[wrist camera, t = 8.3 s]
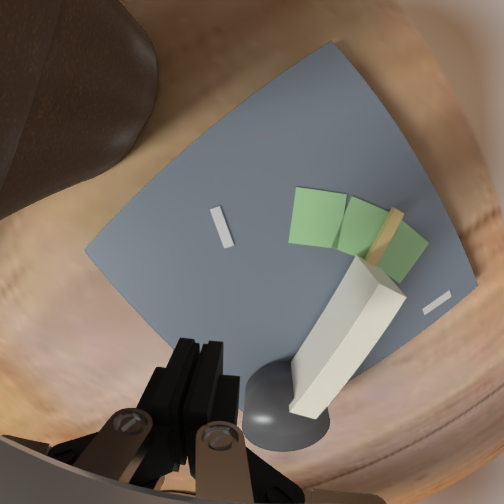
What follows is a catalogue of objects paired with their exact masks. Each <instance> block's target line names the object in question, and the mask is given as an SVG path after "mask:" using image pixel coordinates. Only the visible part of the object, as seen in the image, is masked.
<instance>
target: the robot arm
mask: <svg viewBox="0 0 504 504" xmlns="http://www.w3.org/2000/svg"><path fill="white" fill-rule="evenodd" d="M223 350H224V343H223V342H222V341H210V340H209V342H208V344H203V346H202V349H201V352H200V344H199V343H195V339H190V338H179V340H178V343H177V345H176V347H175V349H174V351H173V354H172V356H171V358H170V360H169V362H168V365H167V367H166V368H163V367H156V369H155V370H154V372H153V374H152V376H151V379H150V381H149V383H148V385H147V387H146V389H145V391H144V393H143V395H142V397H141V399H140V401H139V403H138V405H137V407H136V408H126V409H121V410H119V411H117V412H115V413H114V414H113V415H112V416H111V417H110V419H109V420H108V421H107V422H106V424H105V425H104V426H103V427H102V429H101V430H100V431H99V432H96V433H93V434H90V435H87V436H84V437H80V438H77V439H74V440H70V441H67V442H64V443H60V444H58V445H55V446H54V447H51V446H50V444H47V443H42V442H37V441H32V440H27V439H23V438H18V437H14V436H10V435H2V436H0V504H387V503H386V502H385V501H384V500H383V499H382V498H381V497H379V496H377V495H373V494H362V493H348V492H337V491H328V490H319V489H313V491H307V490H302V489H301V488H300V487H299V486H298V485H297V484H295V483H294V482H292V481H291V480H289V479H288V478H287V477H285V476H284V475H282V474H281V473H280V472H278V471H277V470H276V469H274V468H273V467H272V466H270V465H269V464H268V463H266V462H265V461H264V460H262V459H261V458H260V457H258V456H257V455H256V454H255V453H253V452H252V451H251V450H250V449H248V448H247V447H246V446H245V439H244V435H243V432H242V431H241V430H240V428H239V427H237V417H238V407H239V393H240V376H234V375H223ZM187 456H188V462H189V467H190V474H191V476H192V477H193V478H194V479H195V480H196V496H195V495H190V494H184V493H177V492H162V491H159V490H160V489H161V487H162V485H163V483H164V480H165V475H166V474H168V473H171V472H172V471H176V472H178V471H179V467H180V464H181V465H185V464H186V460H187Z"/></svg>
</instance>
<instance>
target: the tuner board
mask: <svg viewBox="0 0 504 504" xmlns="http://www.w3.org/2000/svg"><path fill="white" fill-rule="evenodd" d="M392 207H393V208H395V209H397V210H399V211H400V212H402V213H404V216H403V218H402V220H401V222H400V224H399V226H398V228H397V229H396V231H395V233H394V235H393V237H392V239H391V241H390V242H389V244H388V246H387V248H386V250H385V252H384V253H383V255H382V257H381V259H380V261H379V262H378V264H377V266H379V267H380V268H381V269H382V270H383V271H384V272H385V273H386V274H387V275H388V276H389V278H390V279H391V280H392V281H393V282H394V283H395V284H396V285H397V287H398V288H399V289H400V290H401V291H402V292H403V293H404V295H405V296H406V297H407V298H406V299H405V301H404V302H403V304H402V306H401V307H400V309H399V310H398V312H397V313H396V315H395V316H394V318H393V319H392V321H391V322H390V324H389V325H388V327H387V328H386V330H385V331H384V333H383V334H382V336H381V337H380V338H379V340H378V341H377V343H376V344H375V346H374V347H373V348H372V350H371V351H370V352H369V354H368V355H367V357H366V358H365V359H364V361H363V362H362V363H361V365H360V366H359V367H358V369H357V370H356V371H355V373H354V374H353V375H352V376H351V378H350V379H349V380H351V379H352V378H354V377H356V376H357V375H359V374H361V373H362V372H364V371H365V370H367V369H368V368H370V367H372V366H373V365H375V364H376V363H378V362H379V361H381V360H382V359H384V358H385V357H387V356H388V355H390V354H391V353H393V352H394V351H396V350H397V349H398V348H400V347H401V346H403V345H404V344H406V343H407V342H408V341H410V340H411V339H413V338H414V337H415V336H417V335H418V334H419V333H421V332H422V331H423V330H425V329H426V328H427V327H429V326H430V325H431V324H433V323H434V322H435V321H436V320H438V319H439V318H440V317H441V316H443V315H444V314H445V313H446V312H448V311H449V310H450V309H451V308H453V307H454V306H455V305H456V304H457V303H459V302H460V301H461V300H462V299H463V298H464V297H466V296H467V295H468V294H469V293H470V292H471V291H472V290H474V289H475V288H476V287H477V286H478V284H477V281H476V278H475V276H474V273H473V270H472V268H471V265H470V263H469V260H468V258H467V255H466V253H465V250H464V248H463V246H462V243H461V241H460V239H459V237H458V234H457V232H456V230H455V228H454V226H453V223H452V221H451V219H450V217H449V215H448V213H447V211H446V209H445V207H444V205H443V203H442V201H441V199H440V197H439V195H438V193H437V191H436V189H435V188H434V186H433V184H432V182H431V180H430V178H429V177H428V175H427V173H426V171H425V170H424V168H423V166H422V164H421V163H420V161H419V159H418V158H417V156H416V154H415V153H414V151H413V149H412V148H411V146H410V144H409V143H408V141H407V140H406V138H405V137H404V135H403V133H402V132H401V130H400V129H399V127H398V126H397V124H396V123H395V121H394V120H393V118H392V117H391V115H390V114H389V113H388V111H387V110H386V108H385V107H384V105H383V104H382V103H381V101H380V100H379V99H378V97H377V96H376V94H375V93H374V92H373V90H372V89H371V88H370V86H369V85H368V84H367V83H366V81H365V80H364V79H363V77H362V76H361V75H360V74H359V72H358V71H357V70H356V69H355V67H354V66H353V65H352V64H351V63H350V61H349V60H348V59H347V58H346V57H345V55H344V54H343V53H342V52H341V51H340V50H339V48H338V47H337V46H336V45H335V44H334V43H333V42H332V41H331V42H329V43H327V44H326V45H324V46H323V47H321V48H319V49H318V50H316V51H315V52H313V53H312V54H310V55H308V56H307V57H305V58H304V59H302V60H301V61H299V62H298V63H296V64H295V65H293V66H292V67H290V68H289V69H288V70H286V71H285V72H283V73H282V74H280V75H279V76H277V77H276V78H275V79H273V80H272V81H270V82H269V83H268V84H266V85H265V86H264V87H262V88H261V89H259V90H258V91H257V92H255V93H254V94H253V95H251V96H250V97H249V98H247V99H246V100H245V101H243V102H242V103H241V104H240V105H238V106H237V107H236V108H234V109H233V110H232V111H231V112H229V113H228V114H227V115H226V116H224V117H223V118H222V119H221V120H219V121H218V122H217V123H216V124H214V125H213V126H212V127H211V128H210V129H208V130H207V131H206V132H205V133H204V134H202V135H201V136H200V137H199V138H198V139H197V140H195V141H194V142H193V143H192V144H191V145H190V146H188V147H187V148H186V149H185V150H184V151H183V152H182V153H180V154H179V155H178V156H177V157H176V158H175V159H174V160H173V161H171V162H170V163H169V164H168V165H167V166H166V167H165V168H164V169H163V170H162V171H161V172H160V173H158V174H157V175H156V176H155V177H154V178H153V179H152V180H151V181H150V182H149V183H148V184H147V185H146V186H145V187H144V188H143V189H142V190H141V191H140V192H139V193H138V194H137V195H136V196H135V197H133V198H132V199H131V200H130V201H129V202H128V203H127V204H126V206H125V207H124V208H123V209H122V210H121V211H120V212H119V213H118V214H117V215H116V216H115V217H114V218H113V219H112V220H111V221H110V222H109V223H108V224H107V225H106V226H105V227H104V228H103V229H102V231H101V232H100V233H99V234H98V235H97V236H96V237H95V238H94V239H93V240H92V241H91V243H90V244H89V245H88V246H87V247H86V248H85V249H84V251H85V253H86V254H87V255H88V256H89V258H90V259H91V260H92V261H93V263H94V264H95V265H96V266H97V267H98V269H99V270H100V271H101V272H102V273H103V274H104V276H105V277H106V278H107V279H108V280H109V281H110V283H111V284H112V285H113V286H114V287H115V288H116V289H117V291H118V292H119V293H120V294H121V295H122V296H123V297H124V298H125V300H126V301H127V302H128V303H129V304H130V305H131V306H132V307H133V308H134V309H135V310H136V312H137V313H138V314H139V315H140V316H141V317H142V318H143V319H144V320H145V321H146V322H147V323H148V324H149V325H150V326H151V327H152V328H153V329H154V330H155V331H156V332H157V333H158V334H159V335H160V336H161V337H162V338H163V339H164V340H165V341H166V342H167V343H168V344H169V345H170V346H171V347H172V348H173V349H175V347H176V345H177V343H178V340H179V338H190V339H195V343H199V344H200V352H201V349H202V346H203V344H208V342H209V340H210V341H222V342H223V343H224V350H223V375H234V376H240V393H239V407H238V408H239V409H240V410H241V411H243V410H244V399H245V389H246V384H247V382H248V380H249V378H250V377H251V376H252V375H253V374H254V373H255V372H256V371H258V370H259V369H261V368H263V367H265V366H267V365H270V364H274V363H279V362H291V361H292V360H293V358H294V357H295V355H296V354H297V352H298V351H299V349H300V347H301V346H302V344H303V343H304V341H305V340H306V338H307V337H308V335H309V334H310V332H311V330H312V329H313V327H314V326H315V324H316V322H317V321H318V319H319V318H320V316H321V314H322V313H323V311H324V310H325V308H326V306H327V305H328V303H329V301H330V300H331V298H332V296H333V295H334V293H335V291H336V290H337V288H338V286H339V284H340V283H341V281H342V279H343V278H344V276H345V274H346V272H347V271H348V269H349V267H350V265H351V264H352V262H353V260H354V258H355V256H356V255H357V256H359V257H361V258H363V259H364V258H365V257H366V255H367V253H368V251H369V249H370V247H371V246H372V244H373V242H374V240H375V238H376V236H377V235H378V233H379V231H380V229H381V227H382V225H383V223H384V221H385V219H386V217H387V216H388V214H389V212H390V210H391V208H392ZM349 380H348V381H349Z"/></svg>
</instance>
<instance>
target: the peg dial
mask: <svg viewBox="0 0 504 504" xmlns="http://www.w3.org/2000/svg"><path fill="white" fill-rule="evenodd" d="M403 216H404V213H402V212H400V211H399V210H397V209H395V208H393V207H392V208H391V210H390V212H389V214H388V216H387V217H386V219H385V221H384V223H383V225H382V227H381V229H380V231H379V233H378V235H377V236H376V238H375V240H374V242H373V244H372V246H371V247H370V249H369V251H368V253H367V255H366V257H365V258H364V259H363V258H361V257H359V256H357V255H356V256H355V258H354V260H353V262H352V264H351V265H350V267H349V269H348V271H347V272H346V274H345V276H344V278H343V279H342V281H341V283H340V284H339V286H338V288H337V290H336V291H335V293H334V295H333V296H332V298H331V300H330V301H329V303H328V305H327V306H326V308H325V310H324V311H323V313H322V314H321V316H320V318H319V319H318V321H317V322H316V324H315V326H314V327H313V329H312V330H311V332H310V334H309V335H308V337H307V338H306V340H305V341H304V343H303V344H302V346H301V347H300V349H299V351H298V352H297V354H296V355H295V357H294V358H293V360H292V361H291V362H279V363H274V364H270V365H267V366H265V367H263V368H261V369H259V370H258V371H256V372H255V373H254V374H253V375H252V376H251V377H250V378H249V380H248V382H247V384H246V389H245V399H244V410H243V421H242V430H243V433H244V435H245V437H246V438H247V439H248V440H249V441H250V442H251V443H253V444H254V445H256V446H258V447H260V448H263V449H266V450H270V451H277V452H288V451H295V450H300V449H303V448H306V447H309V446H311V445H313V444H315V443H316V442H318V441H319V440H320V439H321V438H322V437H323V436H324V435H325V434H326V433H327V431H328V429H329V426H330V418H329V413H328V408H327V406H328V405H329V404H330V402H331V401H332V400H333V399H334V398H335V396H336V395H337V394H338V393H339V391H340V390H341V389H342V388H343V387H344V385H345V384H346V383H347V382H348V380H349V379H350V378H351V376H352V375H353V374H354V373H355V371H356V370H357V369H358V367H359V366H360V365H361V363H362V362H363V361H364V359H365V358H366V357H367V355H368V354H369V352H370V351H371V350H372V348H373V347H374V346H375V344H376V343H377V341H378V340H379V338H380V337H381V336H382V334H383V333H384V331H385V330H386V328H387V327H388V325H389V324H390V322H391V321H392V319H393V318H394V316H395V315H396V313H397V312H398V310H399V309H400V307H401V306H402V304H403V302H404V301H405V299H406V298H407V297H406V296H405V295H404V293H403V292H402V291H401V290H400V289H399V288H398V287H397V285H396V284H395V283H394V282H393V281H392V280H391V279H390V278H389V276H388V275H387V274H386V273H385V272H384V271H383V270H382V269H381V268H380V267H379V266H377V264H378V262H379V261H380V259H381V257H382V255H383V253H384V252H385V250H386V248H387V246H388V244H389V242H390V241H391V239H392V237H393V235H394V233H395V231H396V229H397V228H398V226H399V224H400V222H401V220H402V218H403Z"/></svg>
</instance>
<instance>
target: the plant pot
mask: <svg viewBox="0 0 504 504" xmlns="http://www.w3.org/2000/svg"><path fill="white" fill-rule="evenodd" d="M157 87H158V68H157V60H156V55H155V51H154V48H153V45H152V43H151V41H150V39H149V37H148V35H147V34H146V32H145V31H144V30H143V28H142V27H141V26H140V25H139V24H138V23H137V21H136V20H135V19H134V18H133V17H132V16H131V14H130V13H129V12H128V11H127V10H126V8H125V7H124V6H123V5H122V4H121V2H120V1H119V0H0V220H2V219H4V218H5V217H7V216H9V215H11V214H13V213H15V212H17V211H18V210H20V209H22V208H24V207H27V206H29V205H31V204H33V203H35V202H37V201H39V200H41V199H43V198H45V197H48V196H50V195H52V194H54V193H57V192H59V191H61V190H64V189H66V188H68V187H71V186H73V185H75V184H78V183H80V182H83V181H86V180H89V179H91V178H94V177H96V176H98V175H100V174H102V173H104V172H105V171H107V170H109V169H110V168H111V167H113V166H114V165H115V164H117V163H118V162H119V161H120V160H121V159H122V158H123V157H124V156H125V155H126V154H127V153H128V152H129V151H130V150H131V148H132V147H133V146H134V144H135V141H136V139H137V137H138V135H139V133H140V131H141V130H142V128H143V126H144V125H145V123H146V121H147V119H148V118H149V117H150V115H151V112H152V110H153V107H154V103H155V99H156V94H157Z"/></svg>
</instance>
